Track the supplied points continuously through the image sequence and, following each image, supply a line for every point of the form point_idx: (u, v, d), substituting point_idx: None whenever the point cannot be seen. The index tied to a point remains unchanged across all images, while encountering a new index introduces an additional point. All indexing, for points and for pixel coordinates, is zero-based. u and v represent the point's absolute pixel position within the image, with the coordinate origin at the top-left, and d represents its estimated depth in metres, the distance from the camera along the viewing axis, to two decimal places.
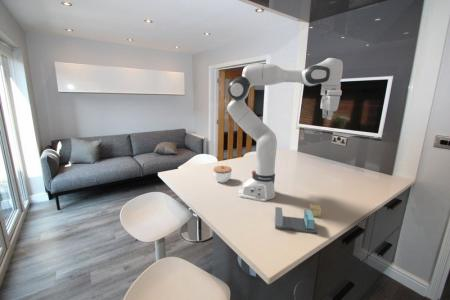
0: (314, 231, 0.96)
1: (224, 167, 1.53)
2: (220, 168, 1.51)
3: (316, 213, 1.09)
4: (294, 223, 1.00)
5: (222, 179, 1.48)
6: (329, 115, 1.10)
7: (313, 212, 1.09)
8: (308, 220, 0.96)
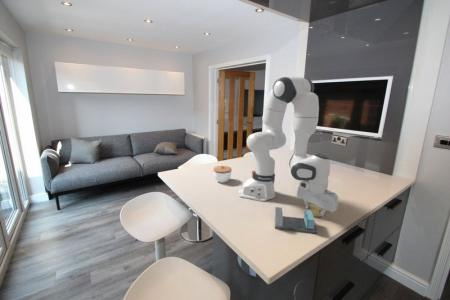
0: (314, 231, 0.96)
1: (224, 167, 1.53)
2: (220, 168, 1.51)
3: (316, 213, 1.09)
4: (294, 223, 1.00)
5: (222, 179, 1.48)
6: None
7: (313, 212, 1.09)
8: (308, 220, 0.96)
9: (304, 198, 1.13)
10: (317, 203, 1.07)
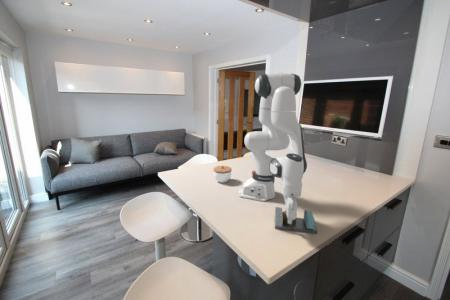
0: (314, 231, 0.96)
1: (224, 167, 1.53)
2: (220, 168, 1.51)
3: (286, 219, 1.00)
4: None
5: (222, 179, 1.48)
6: None
7: (284, 217, 1.01)
8: (308, 220, 0.96)
9: None
10: None
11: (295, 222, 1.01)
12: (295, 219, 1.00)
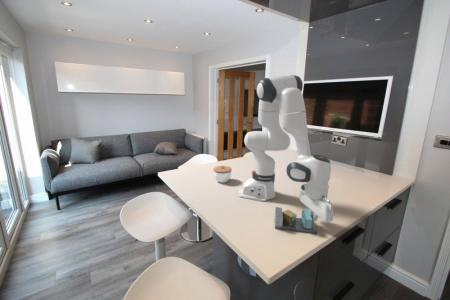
0: (314, 231, 0.96)
1: (224, 167, 1.53)
2: (220, 168, 1.51)
3: (286, 219, 1.00)
4: None
5: (222, 179, 1.48)
6: None
7: (284, 217, 1.01)
8: (306, 220, 0.96)
9: (304, 202, 1.03)
10: (313, 210, 0.96)
11: (295, 222, 1.01)
12: (295, 219, 1.00)
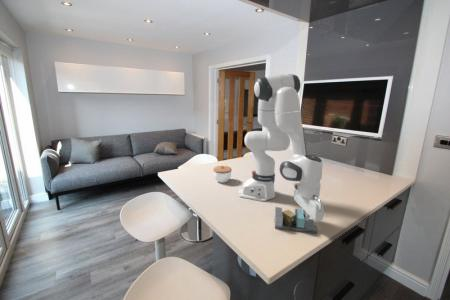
0: (314, 231, 0.96)
1: (224, 167, 1.53)
2: (220, 168, 1.51)
3: (286, 219, 1.00)
4: None
5: (222, 179, 1.48)
6: None
7: (284, 217, 1.01)
8: (298, 219, 0.96)
9: (298, 202, 1.04)
10: (305, 209, 0.97)
11: (295, 222, 1.01)
12: (295, 219, 1.00)
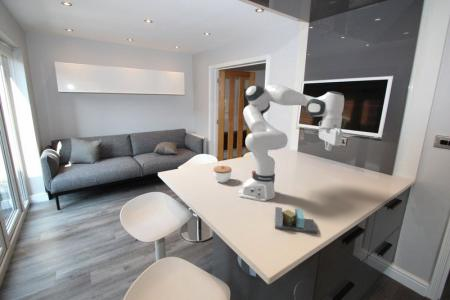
0: (314, 231, 0.96)
1: (224, 167, 1.53)
2: (220, 168, 1.51)
3: (286, 219, 1.00)
4: None
5: (222, 179, 1.48)
6: None
7: (284, 217, 1.01)
8: (298, 219, 0.96)
9: (321, 137, 1.19)
10: (327, 140, 1.12)
11: (295, 222, 1.01)
12: (295, 219, 1.00)
